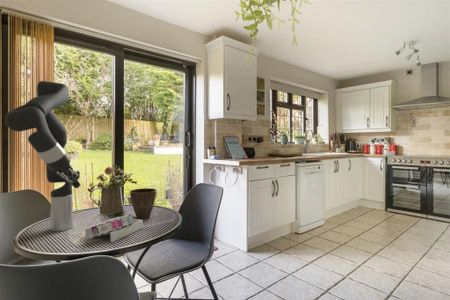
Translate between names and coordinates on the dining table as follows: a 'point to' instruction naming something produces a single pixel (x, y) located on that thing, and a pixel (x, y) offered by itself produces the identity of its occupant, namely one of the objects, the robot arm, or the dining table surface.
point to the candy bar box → (112, 225)
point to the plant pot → (143, 202)
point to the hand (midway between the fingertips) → (77, 186)
